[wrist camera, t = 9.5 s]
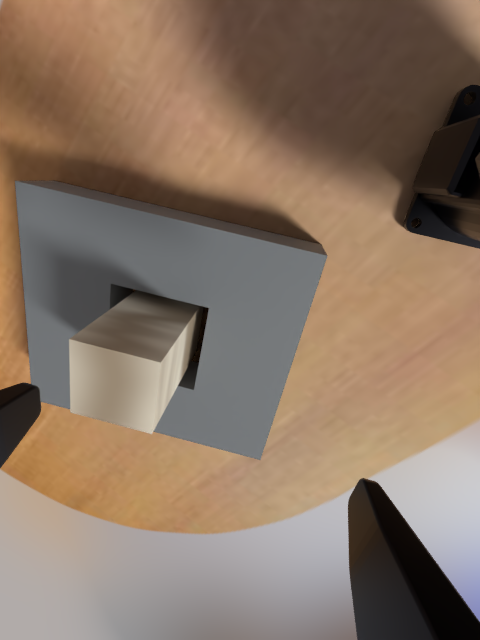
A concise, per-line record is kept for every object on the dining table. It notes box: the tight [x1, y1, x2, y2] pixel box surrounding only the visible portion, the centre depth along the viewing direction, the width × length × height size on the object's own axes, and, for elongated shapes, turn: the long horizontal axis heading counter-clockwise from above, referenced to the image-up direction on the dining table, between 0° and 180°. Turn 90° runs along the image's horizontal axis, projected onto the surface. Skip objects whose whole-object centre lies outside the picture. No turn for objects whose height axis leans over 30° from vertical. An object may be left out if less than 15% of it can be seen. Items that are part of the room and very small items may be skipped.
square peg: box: [69, 290, 204, 434], centre depth 18 cm, size 4×4×8 cm
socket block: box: [15, 181, 327, 460], centre depth 20 cm, size 16×14×3 cm
